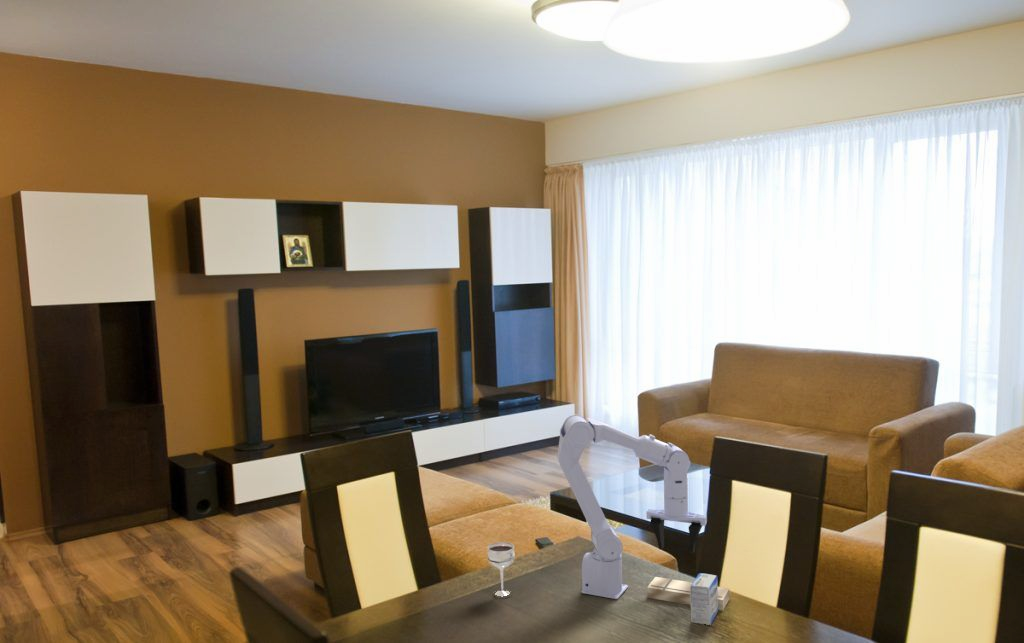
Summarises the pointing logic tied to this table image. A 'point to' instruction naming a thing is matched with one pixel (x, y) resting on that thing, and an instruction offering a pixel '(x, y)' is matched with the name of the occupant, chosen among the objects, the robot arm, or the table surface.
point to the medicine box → (704, 599)
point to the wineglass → (501, 560)
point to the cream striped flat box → (680, 591)
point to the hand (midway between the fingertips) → (676, 550)
